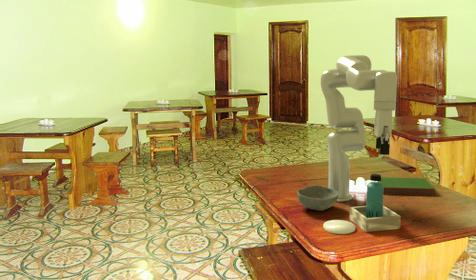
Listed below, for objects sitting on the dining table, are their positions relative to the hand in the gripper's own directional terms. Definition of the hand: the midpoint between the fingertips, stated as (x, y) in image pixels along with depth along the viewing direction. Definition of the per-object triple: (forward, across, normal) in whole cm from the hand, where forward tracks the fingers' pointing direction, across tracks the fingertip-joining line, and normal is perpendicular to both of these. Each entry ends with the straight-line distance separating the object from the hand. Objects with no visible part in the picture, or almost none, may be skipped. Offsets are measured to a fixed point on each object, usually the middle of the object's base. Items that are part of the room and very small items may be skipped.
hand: (382, 151), depth 158 cm
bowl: (+31, -19, -23) cm, 43 cm away
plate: (+30, +3, -15) cm, 34 cm away
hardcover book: (+32, -52, +20) cm, 65 cm away
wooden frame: (+30, -3, -1) cm, 30 cm away
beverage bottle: (+30, -3, -1) cm, 30 cm away
